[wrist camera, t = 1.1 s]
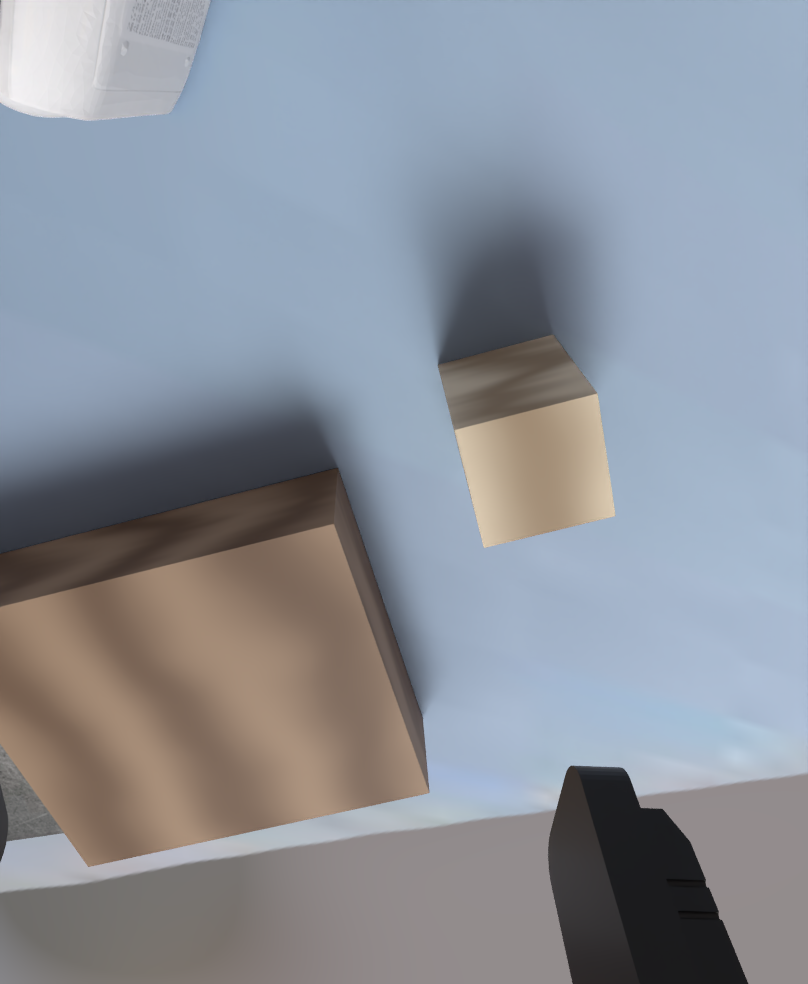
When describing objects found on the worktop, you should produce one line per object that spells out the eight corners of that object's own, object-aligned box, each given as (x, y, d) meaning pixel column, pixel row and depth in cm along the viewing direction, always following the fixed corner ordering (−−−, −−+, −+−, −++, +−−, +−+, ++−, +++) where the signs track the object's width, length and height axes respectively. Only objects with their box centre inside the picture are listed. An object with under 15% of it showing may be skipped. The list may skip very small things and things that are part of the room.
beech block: (553, 334, 32) (597, 393, 26) (570, 439, 34) (615, 515, 28) (437, 364, 33) (454, 430, 26) (463, 465, 35) (484, 547, 29)
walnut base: (337, 467, 35) (333, 523, 30) (422, 718, 42) (429, 793, 38) (-29, 561, 36) (-84, 627, 32) (116, 787, 43) (88, 866, 39)
